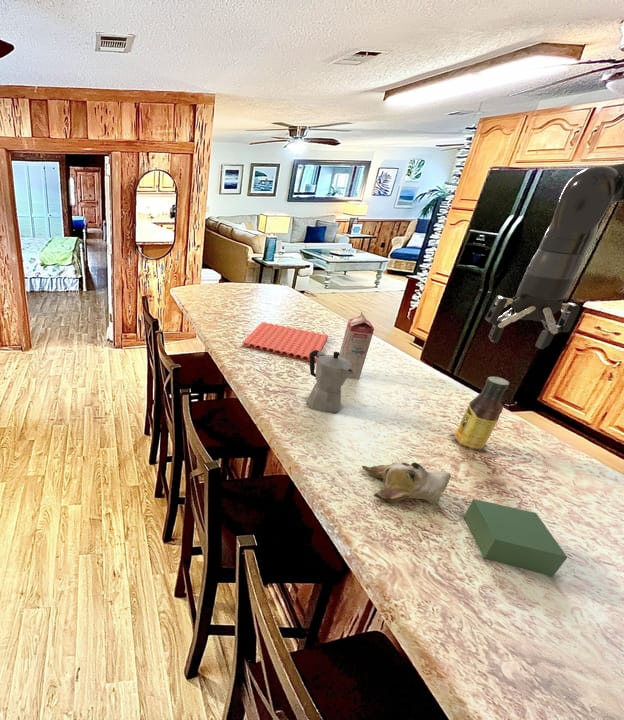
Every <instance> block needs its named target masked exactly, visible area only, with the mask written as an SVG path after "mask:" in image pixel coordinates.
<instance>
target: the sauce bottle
mask: <svg viewBox="0 0 624 720" xmlns="http://www.w3.org/2000/svg"><path fill="white" fill-rule="evenodd" d="M509 386H510V382H509V380H506V379H505V378H502V377H499V376H489V377H487V378H486V380H485V385H484V387H483V389H482V390H481V392H480V393H479V394H478V395H477V396H475V397H474V398H473V399H472V400H471V401H470V402H469V404H468V406H467V407H466V410H465V412H464V414H463V417H462V419H461V420H460V423H459V425H458V428H457V429H456V431H455V434H454V437H453V440H454V442H455V443H457V444H458V445H459V446H461V447H463V448H464V449H468V450H472V451H481V450H482V449H483V448H485V447H486V444H487V442H488V441H489V438H490V436H491V435H492V433H493V431H494V429H495V427H496V425H497V423H498V421H499V419H500V416H501V414H502V413H503V409H504V405H503V403H502V398H503V396H504V394H505V392H506V390H507V389H508V388H509Z"/></svg>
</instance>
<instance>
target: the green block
mask: <svg viewBox="0 0 624 720" xmlns="http://www.w3.org/2000/svg"><path fill="white" fill-rule="evenodd" d="M463 519H464V521H465V524H466V525H467V527H468V529H469V531H470V533H471V535H472V537H473V539H474V541H475V544H476V545H477V548H478V550H479V551H480V554H481V556H482V558H483V559H484V560H487V561H490V562H495V563H499V564H502V565H507V566H510V567H514V568H517V569H522V570H525V571H529V572H533V573H536V574H541V575H545V576H549V577H554V576H555V575H556V574H557V572H558V571H559V570H560V568H561V567H562V566H563V564H564V563H565V561H566V560H567V559H568V555H566V553H565V552H564V550H563V548H562V547H561V546H560V545H559V543H558V542H557V540H556V539H555V537H554V536H553V534H552V533H551V532H550V530H549V529H548V527H547V526H546V525H545V524H544V522H543V520H542V519H541V518H540V516H539V515H538V513H537V512H534V511H530V510H525V509H520V508H516V507H511V506H507V505H503V504H498V503H494V502H489V501H485V500H480V499H475V498H473V499H472V501H471V503H470V504H469V506H468V508H467V510H466V512H465V514H464V515H463Z"/></svg>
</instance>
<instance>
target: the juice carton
mask: <svg viewBox="0 0 624 720" xmlns="http://www.w3.org/2000/svg"><path fill="white" fill-rule="evenodd" d="M374 331H375V327H374V326H373V324H372V323H371V322H370V321H369V319H367V318H366V316H365V314H364V312H363V311H360V314H359V316H355V317H351V318H349V319H348V320H347V323H346V327H345V331H344V335H343V339H342V342H341V347H340V350H339V353H340V354H339V356H338V357H342V358H345V359H347V360H348V361H349V362H350V363H352V364H353V365H352V367H351V368H352V369H353V370H354V371H355V373H354V374H351V375H350V376H348V377H347V378H346V379H352V380H360V377H361V375H362V371H363V368H364V364H365V361H366V358H367V355H368V351H369V349H370V344H371V342H372V338H373V335H374Z"/></svg>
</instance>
